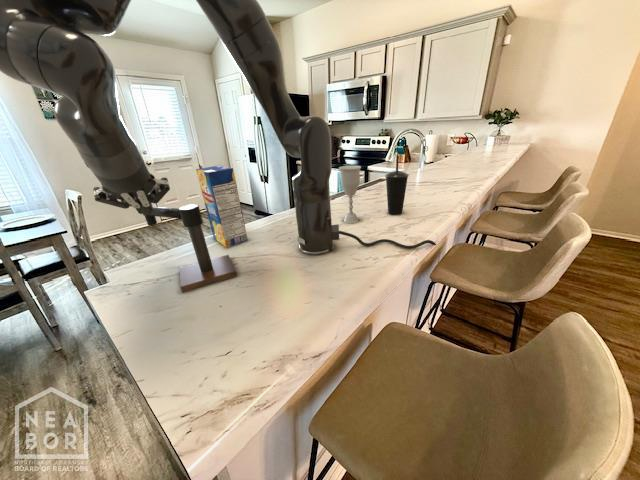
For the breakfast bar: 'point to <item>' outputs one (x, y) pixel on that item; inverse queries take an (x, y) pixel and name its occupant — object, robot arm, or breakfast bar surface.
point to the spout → (177, 215)
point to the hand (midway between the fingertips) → (146, 211)
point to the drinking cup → (396, 190)
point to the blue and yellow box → (222, 204)
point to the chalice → (350, 187)
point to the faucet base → (204, 265)
